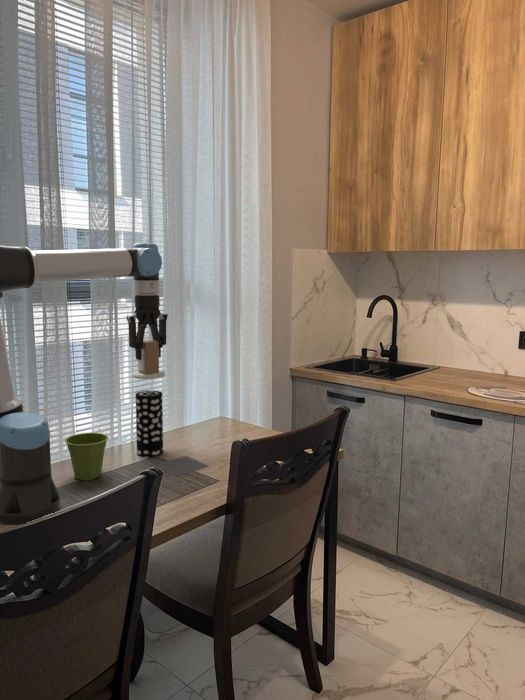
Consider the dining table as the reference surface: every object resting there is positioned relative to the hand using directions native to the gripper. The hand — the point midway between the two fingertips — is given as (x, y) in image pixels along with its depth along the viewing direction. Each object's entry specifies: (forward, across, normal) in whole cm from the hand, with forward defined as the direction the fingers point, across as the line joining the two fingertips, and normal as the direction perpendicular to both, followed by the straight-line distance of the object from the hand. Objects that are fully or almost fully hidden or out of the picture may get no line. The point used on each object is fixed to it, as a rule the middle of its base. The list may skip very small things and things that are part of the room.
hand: (148, 368), depth 168 cm
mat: (+28, +1, -16) cm, 32 cm away
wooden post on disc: (+2, 0, 0) cm, 2 cm away
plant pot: (+28, -23, -4) cm, 37 cm away
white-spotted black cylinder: (+28, 0, 0) cm, 28 cm away
